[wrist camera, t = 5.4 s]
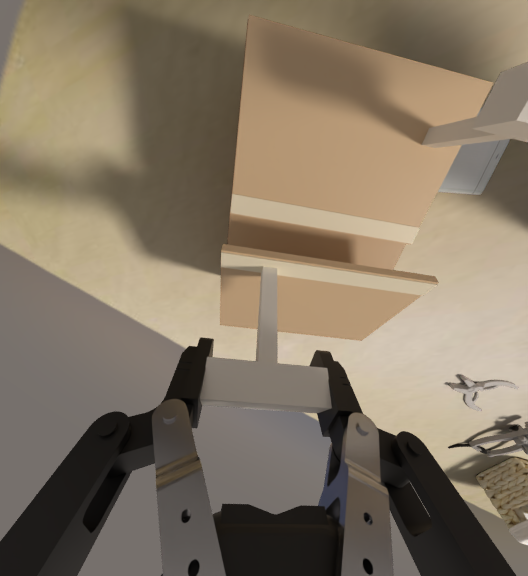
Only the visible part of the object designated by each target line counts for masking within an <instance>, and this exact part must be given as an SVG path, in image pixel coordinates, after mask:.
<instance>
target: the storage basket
mask: <svg viewBox="0 0 528 576" xmlns="http://www.w3.org/2000/svg"><path fill="white" fill-rule="evenodd" d="M476 479H477V480H478V482H479V484H480V485H481V487H482V488H483V489H484V491H485V493H486V495H487V496H488V497H489V498H490V500H491V502H492V504H493V506H494V507H495V508H496V509H497V511H498V513H499V514H500V515H501V517H502V518H503V520H504V521H505V523H506V524H507V526H508V530H509V532H510V533H511V534H512V535H513V536H514V537H515V538H516V540H517V541H518V542H520V543H522V544H526V545H528V461H526V460H523V459H519V458H510V459H508V460H506V461H504V462H501V463H500V464H499V465H495V466H493V467H491V468H489V469H487V470H486V471H484V472H481V473H479V474H478V475H477V476H476ZM486 489H488V490H486Z"/></svg>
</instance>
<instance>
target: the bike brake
mask: <svg viewBox="0 0 528 576" xmlns="http://www.w3.org/2000/svg"><path fill="white" fill-rule="evenodd" d="M525 424H526V425H525V427H526V428H525V429H523V428H522V427H521V426H520V425H519V426H515V427H512V428H509V430H510V431H511V432H510V433H505V434H500V435H494V436H489V437H484V438H480V439H477V440H474V441H469V444H456V445H452V446H449V447H448V448H454V447H472V448H474V449H475V450H477V451H480V452H482V453H485V454H487V456H488V457H494V456H498V455H504V454H509V453H513V452H518V451H522V450H524V452H525V453H526V454H528V422H525ZM510 440H514V441H515V443H516V445H513V446H510V447H507V448H503V449H498V450H492V451H490V450H485V449H484V448H482V447H479V446H480V445H483V444H487V443H492V442H499V441H510ZM475 447H476V448H475Z"/></svg>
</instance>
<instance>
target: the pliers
mask: <svg viewBox="0 0 528 576" xmlns="http://www.w3.org/2000/svg"><path fill="white" fill-rule="evenodd" d="M460 378H461V379H462V380H463V381H464V382H465V383H464V384H463V385H462V384H455V383H450V384H449V386H450V387H451V388H452V389H453V390H455V391H458V392H461V393H464V394H465V396H464V401H465V403H466V404H467V405H468V406H469V407H470V408H472V409H474V410H477V411H482V409H481V408H479V407H477V406H476V405H475V404H474V402H475V401H476V400H477V398H478V392H476V391H479V390H481V391H483V390H490V389H494V388H497V387H499V386H507V387H511V388H515V389H518V387H517V386H516V385H515V384H513V383H511V382H508V381H504V380H490V381H485V382H477V383H476V384H475V383H474V382H473V381H472V380H471V379H469V378H467V377H465V376H464V375H461V376H460ZM488 386H491V387H488ZM484 387H487V388H484ZM474 392H476V395H475V397H474V398H473V399H472V397H473V393H474Z"/></svg>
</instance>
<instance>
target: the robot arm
mask: <svg viewBox="0 0 528 576" xmlns="http://www.w3.org/2000/svg"><path fill="white" fill-rule="evenodd" d="M213 342H214V339H210V338H200V340H199V343H198V346H197V347H194V346H189V347H188V348H187V349H186V350H185V351H184V352H183V353H182V355H181V358H180V360H179V363H178V365H177V368H176V370H175V373H174V376H173V378H172V381H171V383H170V386H169V388H168V391H167V394H166V396H165V398H164V400H163V401H162V402H161V404H160V405H159V406H158V407H156V408H155V409H153V410H151V411H149V412H147V413H143V414H139V415H135V416H131V417H128V416H127V415H126V414H124V413H122V412H111V413H107V414H105V415H103V416H101V417H100V418H98V419H97V420H96V421H95V422H94V423H93V424H92V425H91V426H90V427H89V428H88V430H87V431H86V432H85V434H84V435H83V436H82V437H81V439H80V440H79V441H78V442H77V444H76V445H75V446H74V448H73V449H72V450H71V451H70V453H69V454H68V455H67V457H66V458H65V459H64V460H63V462H62V463H61V464H60V466H59V467H58V468H57V469H56V471H55V472H54V473H53V475H52V476H51V477H50V478H49V480H48V481H47V482H46V484H45V485H44V486H43V488H42V489H41V490H40V491H39V493H38V494H37V495H36V496H35V498H34V499H33V500H32V502H31V503H30V504H29V505H28V507H27V508H26V509H25V511H24V512H23V513H22V514H21V516H20V517H19V518H18V520H17V521H16V522H15V524H14V525H13V526H12V527H11V529H10V530H9V531H8V533H7V534H6V535H5V536H4V538H3V539H2V540H1V541H0V576H77V575H78V573H79V571H80V569H81V567H82V566H83V563H84V562H85V560H86V558H87V556H88V554H89V552H90V550H91V548H92V546H93V545H94V543H95V540H96V539H97V537H98V535H99V533H100V531H101V529H102V527H103V525H104V524H105V522H106V520H107V518H108V516H109V514H110V512H111V510H112V508H113V506H114V504H115V502H116V501H117V499H118V497H119V495H120V493H121V491H122V489H123V487H124V485H125V483H126V482H127V480H128V478H129V476H130V474H131V472H132V471H133V470H136V469H139V468H142V467H145V466H148V465H151V464H154V463H155V468H156V491H157V504H158V516H159V530H160V542H161V555H162V556H161V557H162V569H163V574H162V575H161V576H394V572H393V556H392V539H391V524H390V511H391V513H392V516H393V518H394V520H395V522H396V524H397V526H398V528H399V530H400V533H401V535H402V537H403V539H404V541H405V543H406V545H407V547H408V549H409V551H410V554H411V556H412V557H413V560H414V562H415V564H416V566H417V568H418V570H419V572H420V575H421V576H516V574H515V573H514V572H513V570H512V569H511V567H510V566H509V564H508V563H507V562H506V560H505V559H504V557H503V556H502V554H501V553H500V552H499V550H498V549H497V547H496V546H495V544H494V543H493V542H492V540H491V539H490V537H489V536H488V534H487V533H486V532H485V530H484V529H483V527H482V526H481V524H480V523H479V522H478V520H477V519H476V518H475V516H474V515H473V513H472V512H471V510H470V509H469V507H468V506H467V504H466V503H465V502H464V500H463V499H462V497H461V496H460V494H459V493H458V492H457V490H456V489H455V487H454V486H453V484H452V483H451V482H450V480H449V479H448V477H447V476H446V474H445V473H444V472H443V470H442V469H441V467H440V466H439V464H438V463H437V462H436V460H435V459H434V457H433V456H432V454H431V453H430V452H429V450H428V449H427V447H426V446H425V445H424V443H423V442H422V441H421V440H420V439H419V438H417V437H416V436H415V435H413V434H411V433H409V432H405V431H403V432H400V433H399V434H398V435H397V436H395V435H393V434H390V433H388V432H385V431H383V430H381V429H378V428H377V427H376V426H375V424H374V423H373V421H372V420H371V419H370V418H368V417H367V416H366V415H364V414H363V412H362V410H361V408H360V405H359V403H358V401H357V398H356V396H355V394H354V391H353V389H352V387H351V386H350V385H351V384H350V382H349V379H348V377H347V375H346V372H345V370H344V368H343V367H342V366H341V365H340V364H339V362H337V361H334V360H333V358H332V355H331V353H330V352H328V351H319V350H317V351H316V352H315V354H314V356H313V359H312V361H311V364H310V366H311V367H322V368H327V370H328V377H329V379H328V382H329V389H330V397H331V404H332V408H331V409H328V410H326V411H323V412H320V413H317V415H318V419H319V423H320V427H321V431H322V435H323V436H324V437H330V438H331V442H332V443H331V445H330V448H329V455H328V461H327V468H326V474H325V481H324V487H323V491H322V494H321V497H320V500H319V503H318V506H299V507H296V508H294V509H291V510H288V511H285V512H283V513H280V514H277V515H274V514H271V513H269V512H266V511H264V510H261V509H259V508H256V507H254V506H251V505H248V504H222V509H221V511H220V512H217V513H215V514H213V515H212V510H211V506H210V501H209V497H208V492H207V487H206V483H205V478H204V474H203V469H202V465H201V462H200V459H199V457H198V455H197V451H196V446H195V442H194V437H193V432H192V428H197V427H198V421H199V418H200V413H201V409H202V404H201V401H200V395H201V390H202V385H203V380H204V375H205V370H206V368H205V366H206V361H207V357H212V355H213ZM410 482H411V484H412V485H413V487H414V489H415V491H416V492H417V494H418V496H419V498H420V499H421V501H422V503H423V505H424V506H425V508H426V510H427V511H428V513H429V515H430V517H429V515H428V513H427V512H426V510H425V508H424V506H423V505H422V503H421V501H420V499H419V498H418V496H417V494H416V492H415V491H414V489H413V487H412V485H411V484H410Z"/></svg>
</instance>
